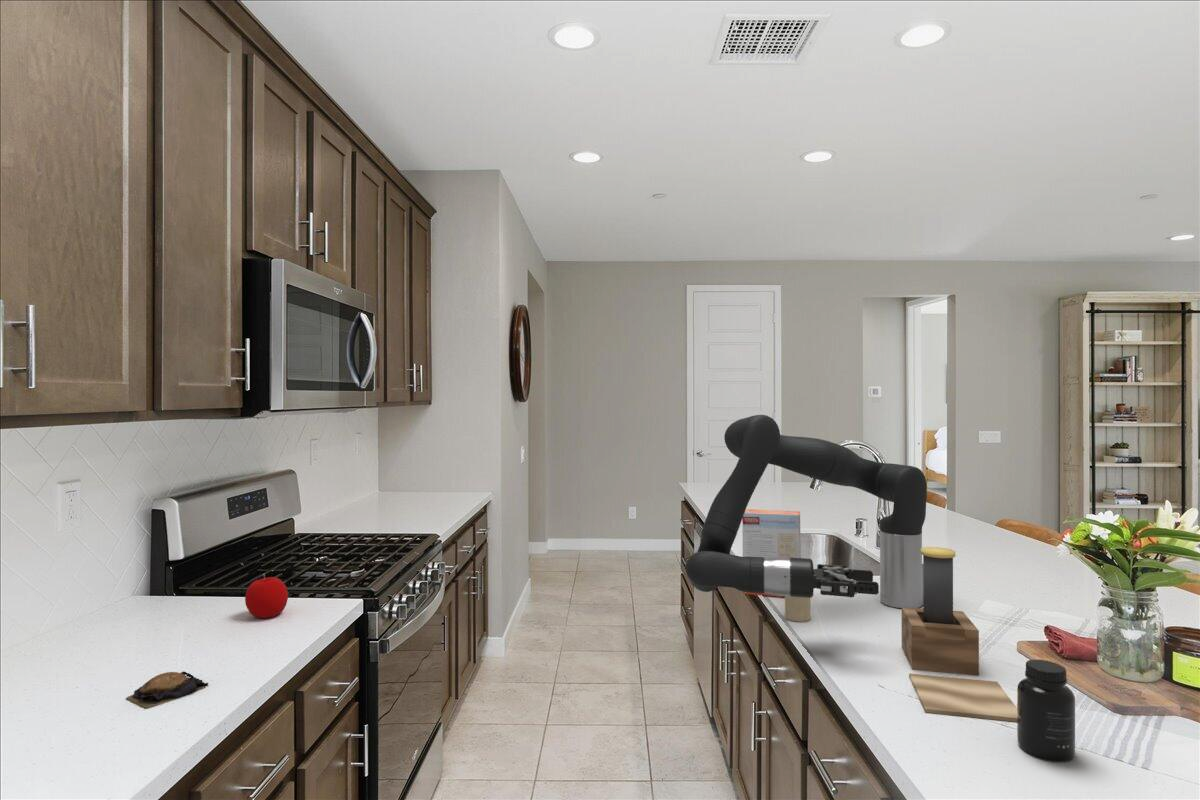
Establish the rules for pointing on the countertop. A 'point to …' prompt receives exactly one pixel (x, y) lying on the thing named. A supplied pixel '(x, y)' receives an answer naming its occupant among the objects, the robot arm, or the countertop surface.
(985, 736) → the countertop surface
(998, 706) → the cork mat
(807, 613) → the candle
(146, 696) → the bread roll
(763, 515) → the cracker box
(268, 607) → the fruit
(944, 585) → the plug
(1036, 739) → the supplement bottle
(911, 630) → the socket block
